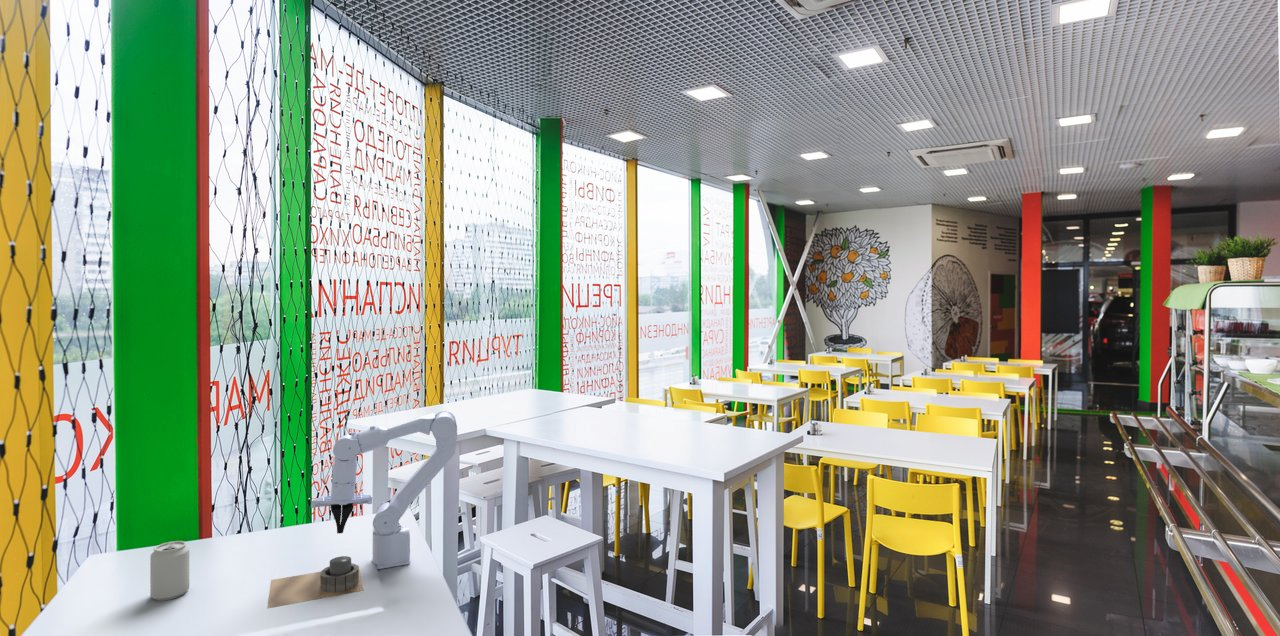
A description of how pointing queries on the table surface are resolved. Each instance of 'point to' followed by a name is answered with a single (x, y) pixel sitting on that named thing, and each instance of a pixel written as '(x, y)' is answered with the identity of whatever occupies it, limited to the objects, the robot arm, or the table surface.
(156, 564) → the can
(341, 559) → the dark gray cylinder
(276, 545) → the table surface
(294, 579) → the barrel mount
